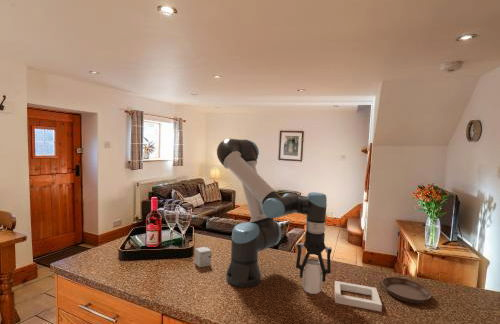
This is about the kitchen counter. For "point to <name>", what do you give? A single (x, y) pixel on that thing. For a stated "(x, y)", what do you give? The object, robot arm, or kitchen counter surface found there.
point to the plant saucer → (406, 290)
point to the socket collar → (355, 301)
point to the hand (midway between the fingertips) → (312, 286)
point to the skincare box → (202, 256)
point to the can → (312, 276)
